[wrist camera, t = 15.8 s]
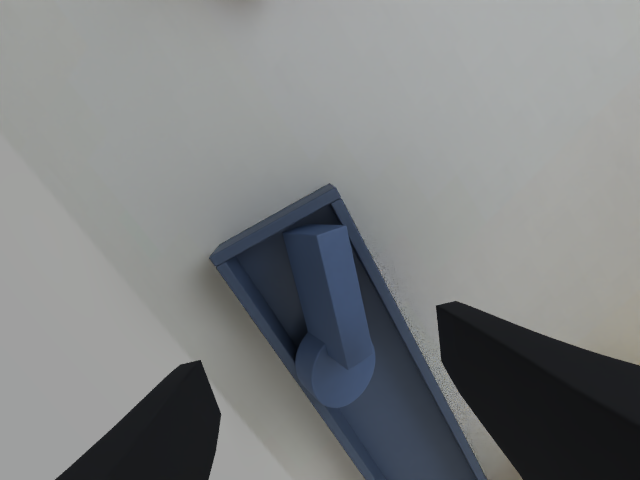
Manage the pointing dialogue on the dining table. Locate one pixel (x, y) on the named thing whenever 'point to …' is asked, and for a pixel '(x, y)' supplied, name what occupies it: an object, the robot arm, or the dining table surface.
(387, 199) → the dining table surface
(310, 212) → the slate tray
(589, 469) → the robot arm
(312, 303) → the slate spoon
